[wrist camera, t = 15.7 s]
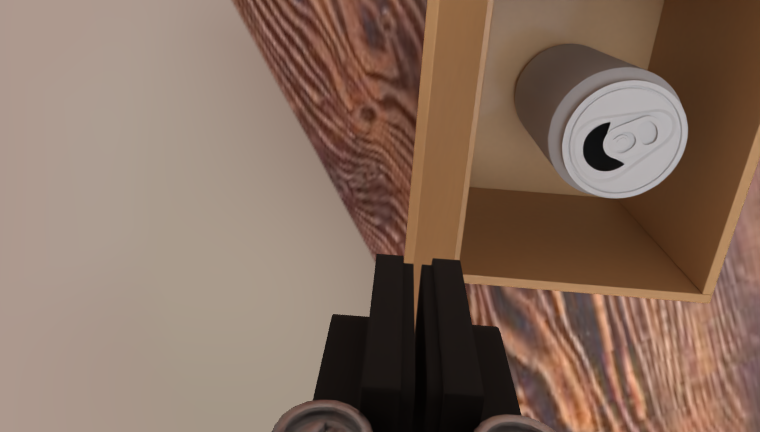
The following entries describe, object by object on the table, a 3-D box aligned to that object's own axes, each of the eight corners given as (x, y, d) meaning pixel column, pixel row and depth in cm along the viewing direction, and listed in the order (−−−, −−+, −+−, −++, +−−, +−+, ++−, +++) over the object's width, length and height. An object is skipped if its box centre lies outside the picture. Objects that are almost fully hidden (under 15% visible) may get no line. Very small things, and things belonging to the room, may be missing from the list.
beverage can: (498, 68, 36) (534, 109, 25) (595, 24, 35) (677, 47, 24) (531, 154, 39) (578, 226, 28) (624, 115, 37) (712, 175, 26)
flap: (450, 288, 27) (442, 286, 28) (494, -48, 21) (484, -49, 22) (404, 362, 22) (394, 359, 22) (445, -62, 16) (432, -62, 16)
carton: (437, 188, 40) (446, 281, 28) (462, -40, 35) (488, -49, 22) (618, 202, 40) (709, 304, 28) (675, -25, 34) (823, -27, 22)
